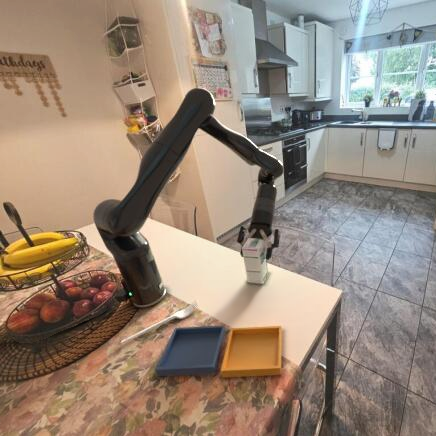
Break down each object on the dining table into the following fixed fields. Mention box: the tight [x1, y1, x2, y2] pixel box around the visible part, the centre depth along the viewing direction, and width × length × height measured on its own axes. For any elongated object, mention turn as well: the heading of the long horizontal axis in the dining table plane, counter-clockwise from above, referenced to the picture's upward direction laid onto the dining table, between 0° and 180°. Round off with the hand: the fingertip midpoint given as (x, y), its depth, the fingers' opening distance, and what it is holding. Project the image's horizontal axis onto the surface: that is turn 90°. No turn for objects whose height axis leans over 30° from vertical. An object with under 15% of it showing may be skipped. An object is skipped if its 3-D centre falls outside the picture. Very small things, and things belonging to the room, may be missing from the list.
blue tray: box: [154, 325, 227, 377], centre depth 60 cm, size 13×11×2 cm
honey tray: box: [220, 325, 283, 379], centre depth 59 cm, size 13×11×2 cm
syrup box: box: [241, 238, 269, 285], centre depth 82 cm, size 6×6×14 cm
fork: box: [120, 300, 199, 345], centre depth 68 cm, size 3×20×2 cm, turn 127°
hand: (255, 258), depth 81 cm, fingers open, 8 cm apart
